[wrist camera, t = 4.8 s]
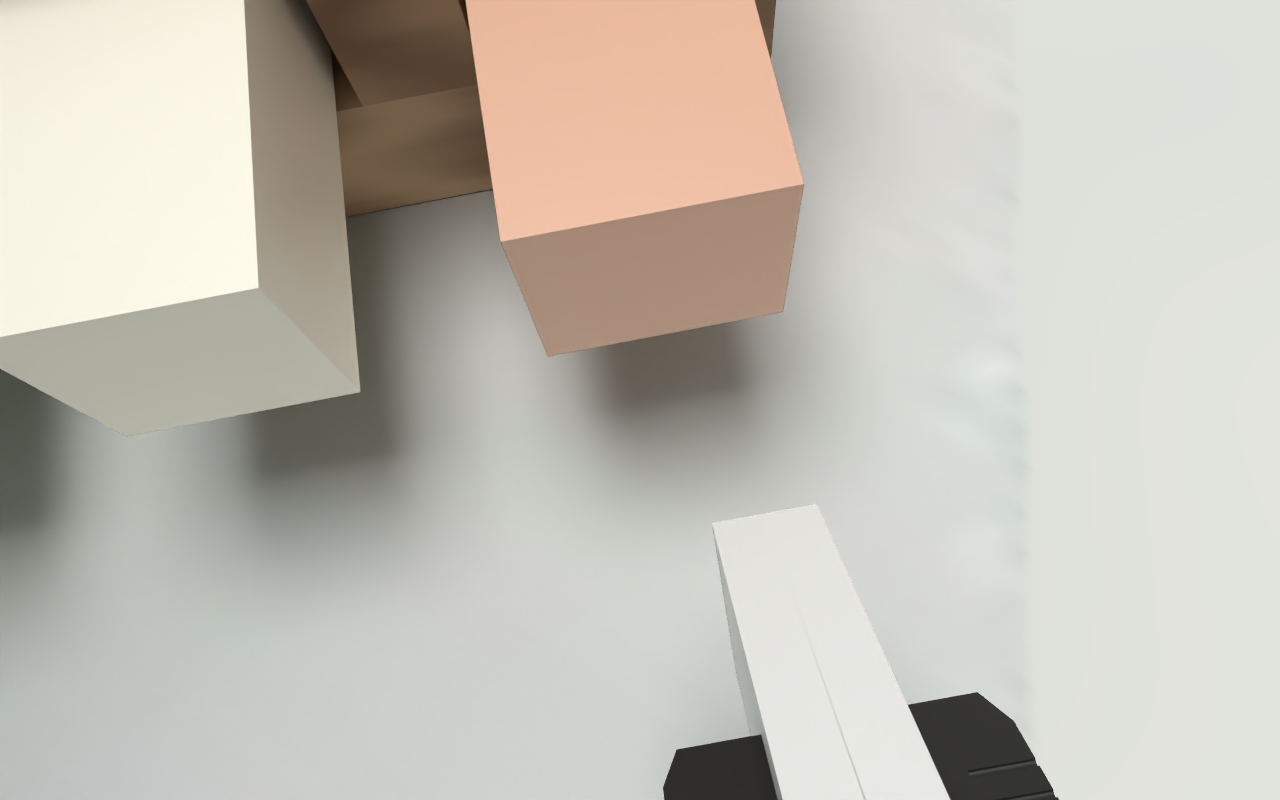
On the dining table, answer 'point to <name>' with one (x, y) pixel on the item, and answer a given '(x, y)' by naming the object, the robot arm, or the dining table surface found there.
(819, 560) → the robot arm
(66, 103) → the key cream
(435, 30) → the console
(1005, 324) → the dining table surface
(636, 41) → the key terracotta
